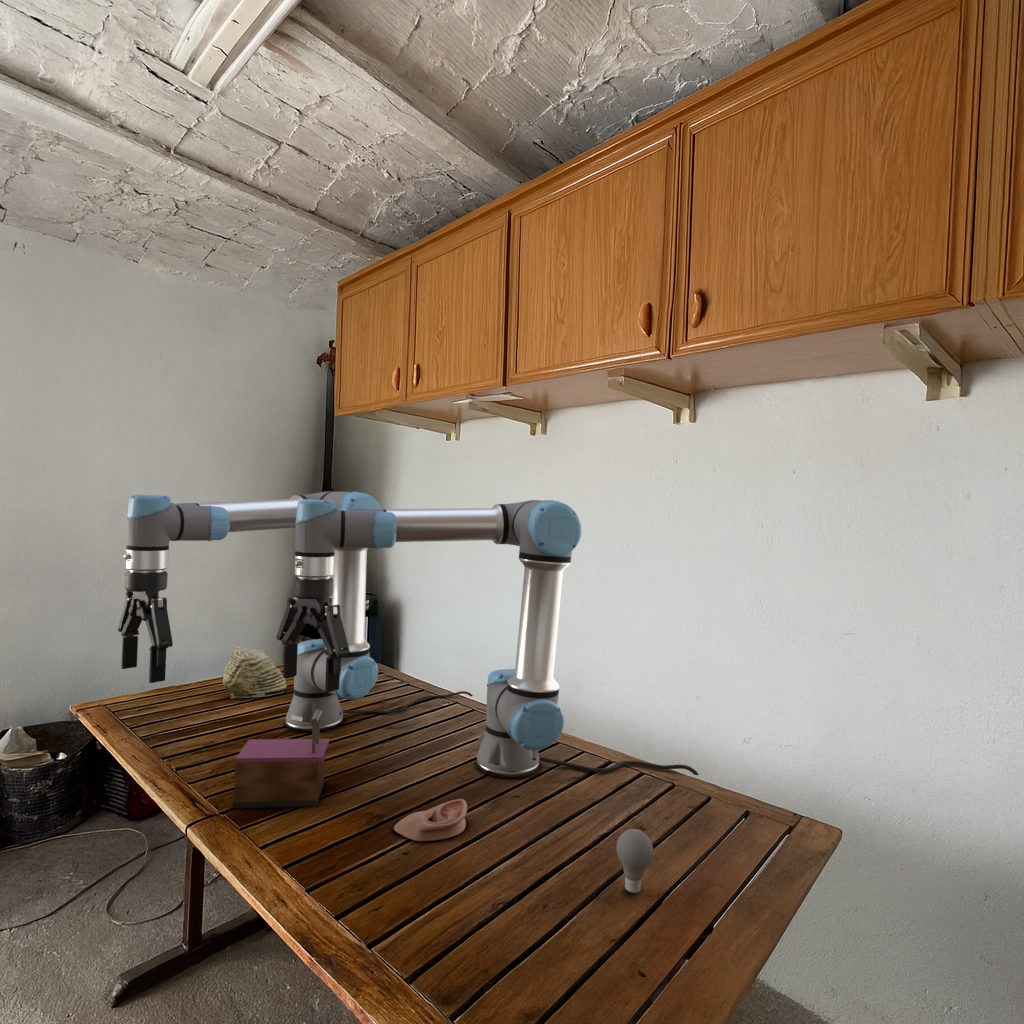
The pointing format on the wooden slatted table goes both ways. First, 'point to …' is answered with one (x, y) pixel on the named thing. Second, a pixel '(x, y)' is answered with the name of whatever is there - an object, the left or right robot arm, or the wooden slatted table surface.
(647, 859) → the light bulb
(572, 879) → the wooden slatted table surface
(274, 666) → the fossil
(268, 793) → the chest
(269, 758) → the lid
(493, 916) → the wooden slatted table surface
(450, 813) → the anatomical model
